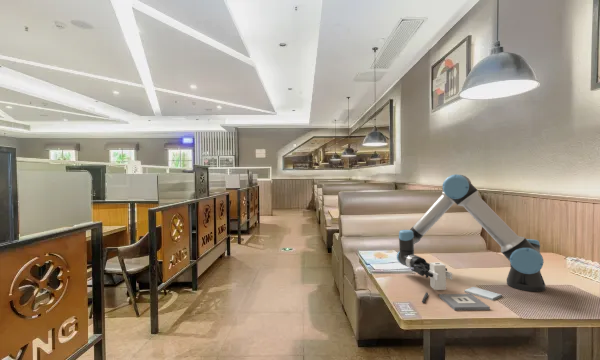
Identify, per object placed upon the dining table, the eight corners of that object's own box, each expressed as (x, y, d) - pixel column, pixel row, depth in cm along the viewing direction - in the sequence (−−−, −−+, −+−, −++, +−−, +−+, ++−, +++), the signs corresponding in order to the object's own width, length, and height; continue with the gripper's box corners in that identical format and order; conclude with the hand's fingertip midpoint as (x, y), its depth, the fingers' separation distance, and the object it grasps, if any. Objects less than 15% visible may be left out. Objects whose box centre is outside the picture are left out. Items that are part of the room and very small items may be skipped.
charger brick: (441, 285, 140) (440, 261, 140) (446, 289, 135) (445, 264, 135) (430, 286, 140) (429, 262, 140) (435, 289, 135) (434, 265, 135)
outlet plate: (470, 296, 134) (470, 293, 134) (489, 309, 120) (489, 305, 120) (439, 296, 135) (439, 293, 135) (454, 310, 121) (454, 306, 121)
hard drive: (502, 294, 134) (473, 286, 144) (492, 298, 129) (464, 289, 140) (502, 298, 134) (473, 289, 144) (492, 302, 129) (464, 293, 140)
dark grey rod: (425, 294, 137) (425, 292, 137) (428, 295, 137) (428, 292, 137) (421, 303, 128) (421, 300, 128) (424, 303, 128) (424, 300, 128)
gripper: (433, 269, 157) (464, 283, 134) (399, 272, 154) (425, 287, 131) (432, 255, 157) (463, 266, 134) (399, 257, 154) (424, 270, 131)
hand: (444, 276), depth 133 cm, fingers closed on charger brick, 6 cm apart
